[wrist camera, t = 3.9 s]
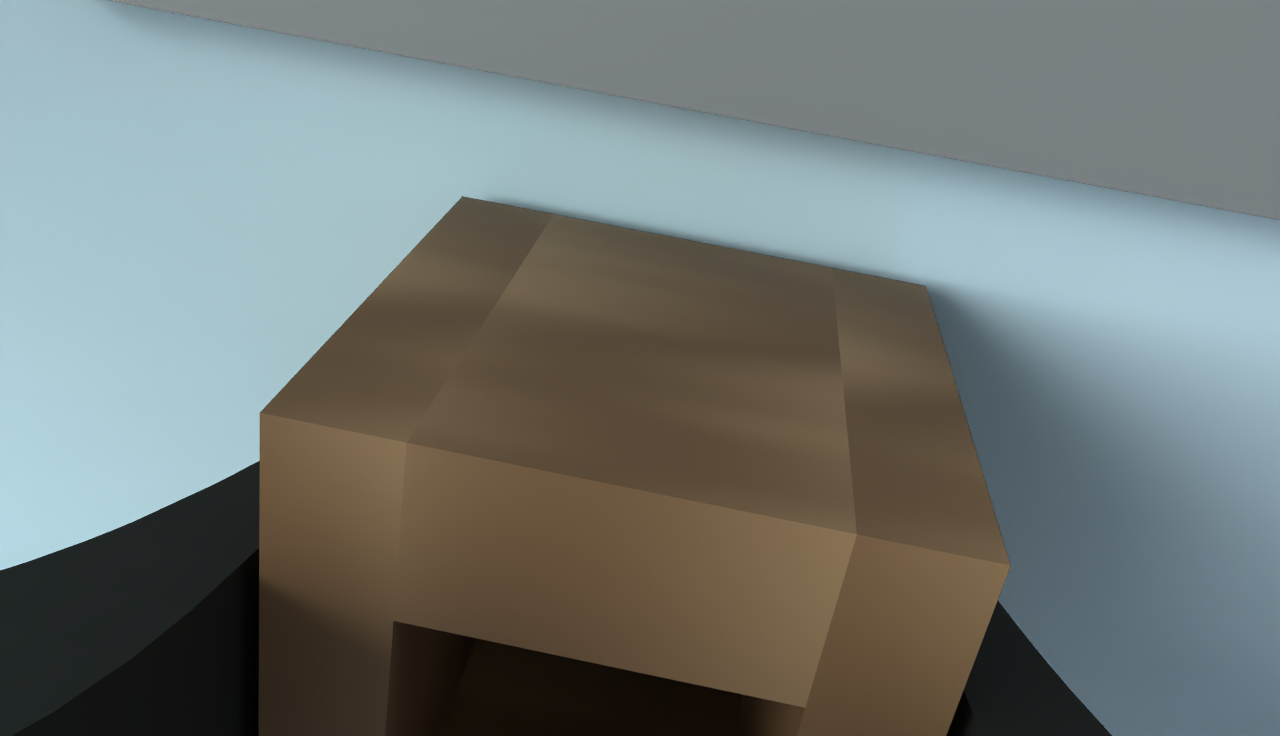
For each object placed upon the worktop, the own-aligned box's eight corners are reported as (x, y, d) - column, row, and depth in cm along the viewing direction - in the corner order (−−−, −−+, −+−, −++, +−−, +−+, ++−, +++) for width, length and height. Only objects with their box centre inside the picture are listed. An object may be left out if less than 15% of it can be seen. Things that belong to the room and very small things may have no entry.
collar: (925, 286, 12) (1010, 565, 7) (799, 712, 14) (803, 1112, 10) (462, 196, 12) (259, 413, 7) (423, 632, 14) (256, 988, 10)
